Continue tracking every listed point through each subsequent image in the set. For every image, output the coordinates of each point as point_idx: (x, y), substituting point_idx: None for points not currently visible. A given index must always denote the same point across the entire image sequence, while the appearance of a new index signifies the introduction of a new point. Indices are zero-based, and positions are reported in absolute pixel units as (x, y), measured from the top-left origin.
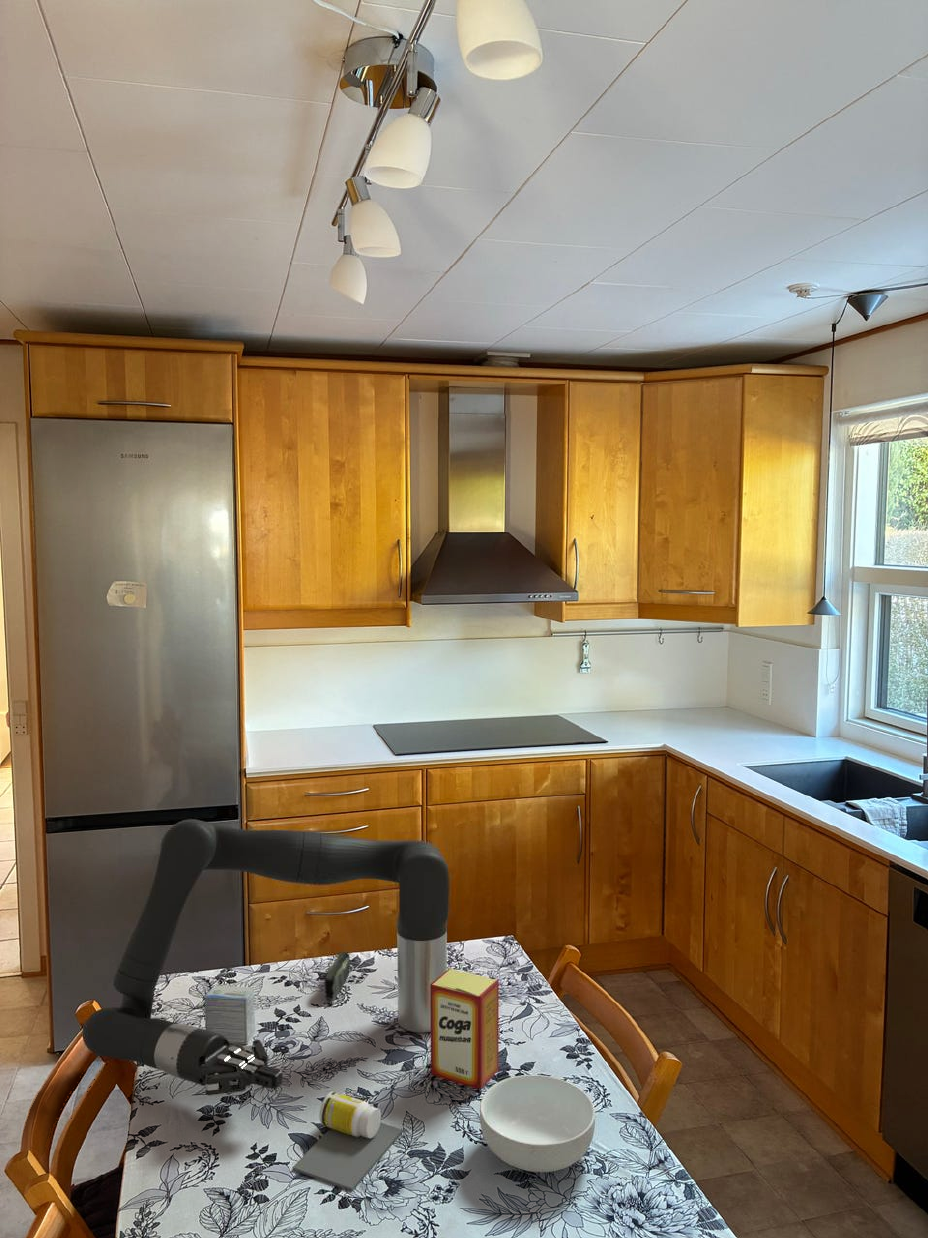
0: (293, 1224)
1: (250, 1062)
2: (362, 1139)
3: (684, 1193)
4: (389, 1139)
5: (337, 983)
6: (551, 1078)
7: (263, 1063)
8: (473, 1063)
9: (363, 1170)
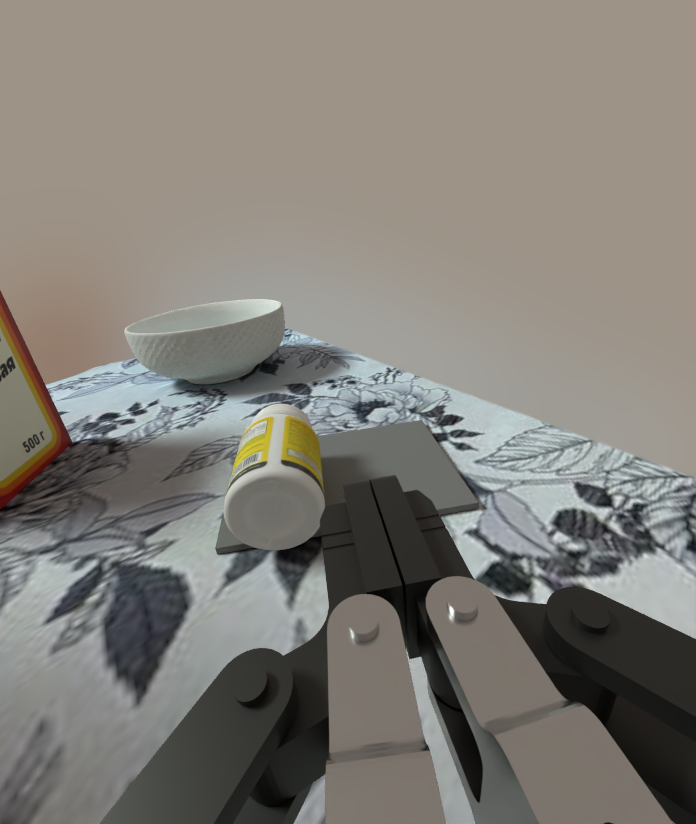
0: (552, 430)
1: (417, 720)
2: None
3: None
4: None
5: None
6: (129, 327)
7: (349, 598)
8: (41, 405)
9: (375, 430)
